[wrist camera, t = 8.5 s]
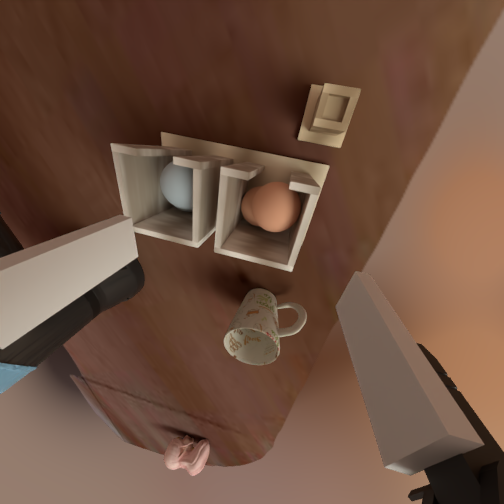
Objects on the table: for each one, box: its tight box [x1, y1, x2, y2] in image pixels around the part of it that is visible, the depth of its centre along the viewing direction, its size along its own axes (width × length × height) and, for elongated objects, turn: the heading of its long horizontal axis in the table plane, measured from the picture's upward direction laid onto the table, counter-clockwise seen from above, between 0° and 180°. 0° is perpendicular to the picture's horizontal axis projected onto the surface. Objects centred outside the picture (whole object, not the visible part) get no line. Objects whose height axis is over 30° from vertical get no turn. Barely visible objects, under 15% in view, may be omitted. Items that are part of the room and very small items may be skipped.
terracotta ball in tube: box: [241, 186, 263, 227], centre depth 23 cm, size 5×5×5 cm
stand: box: [298, 83, 361, 148], centre depth 18 cm, size 5×5×5 cm
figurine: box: [164, 435, 209, 476], centre depth 76 cm, size 11×12×18 cm
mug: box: [224, 288, 307, 365], centre depth 30 cm, size 8×13×10 cm, turn 115°
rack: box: [110, 132, 329, 272], centre depth 22 cm, size 22×11×11 cm, turn 80°
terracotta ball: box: [252, 182, 301, 232], centre depth 19 cm, size 5×5×5 cm
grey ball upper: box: [160, 162, 193, 209], centre depth 20 cm, size 5×5×5 cm
